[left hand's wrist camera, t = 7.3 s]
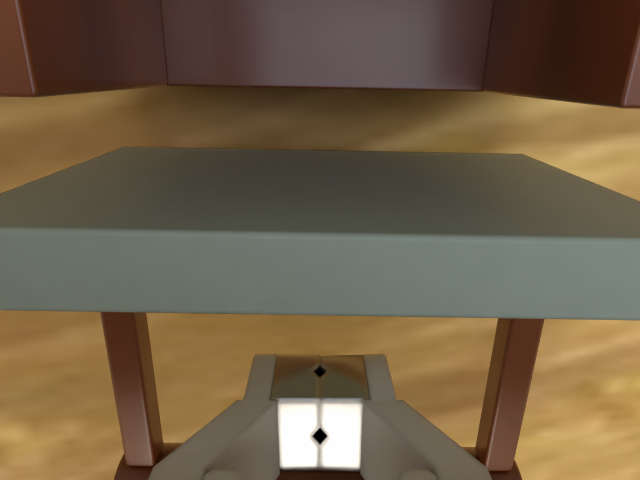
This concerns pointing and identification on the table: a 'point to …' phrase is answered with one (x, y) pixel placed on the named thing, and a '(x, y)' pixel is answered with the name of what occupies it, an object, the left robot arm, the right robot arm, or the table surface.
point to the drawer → (322, 185)
